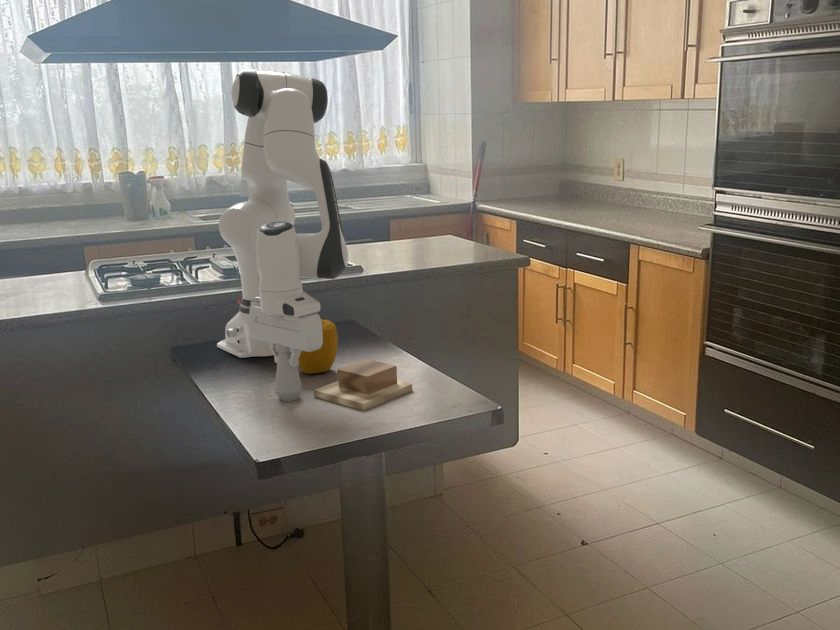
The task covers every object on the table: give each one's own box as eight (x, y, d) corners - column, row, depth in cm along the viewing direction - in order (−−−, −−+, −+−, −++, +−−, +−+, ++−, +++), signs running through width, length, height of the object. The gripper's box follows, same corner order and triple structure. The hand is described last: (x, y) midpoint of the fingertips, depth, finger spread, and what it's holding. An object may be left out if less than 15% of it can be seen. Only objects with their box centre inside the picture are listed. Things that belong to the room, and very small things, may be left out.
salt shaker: (297, 403, 170) (292, 344, 167) (271, 402, 171) (266, 343, 168) (306, 394, 176) (302, 336, 173) (281, 393, 177) (277, 336, 174)
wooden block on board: (314, 396, 174) (312, 372, 173) (363, 378, 185) (361, 355, 184) (363, 410, 165) (362, 385, 163) (412, 390, 176) (411, 366, 174)
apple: (315, 382, 184) (311, 327, 181) (283, 374, 190) (279, 321, 187) (349, 370, 192) (346, 317, 189) (318, 362, 199) (314, 311, 195)
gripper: (238, 298, 173) (244, 360, 176) (302, 310, 160) (307, 377, 163) (262, 292, 177) (267, 353, 181) (325, 304, 164) (330, 369, 168)
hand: (286, 364), depth 172 cm, fingers closed on salt shaker, 3 cm apart
